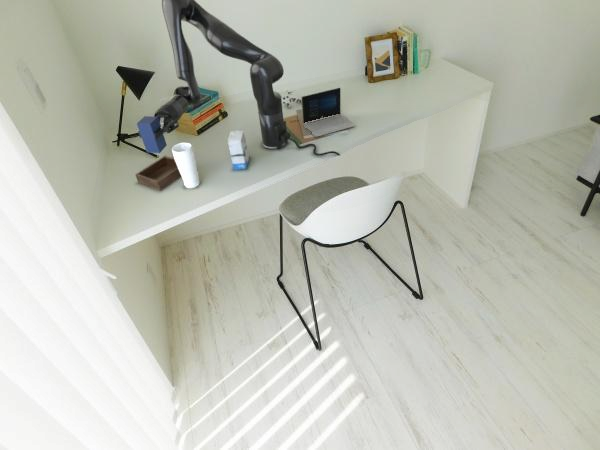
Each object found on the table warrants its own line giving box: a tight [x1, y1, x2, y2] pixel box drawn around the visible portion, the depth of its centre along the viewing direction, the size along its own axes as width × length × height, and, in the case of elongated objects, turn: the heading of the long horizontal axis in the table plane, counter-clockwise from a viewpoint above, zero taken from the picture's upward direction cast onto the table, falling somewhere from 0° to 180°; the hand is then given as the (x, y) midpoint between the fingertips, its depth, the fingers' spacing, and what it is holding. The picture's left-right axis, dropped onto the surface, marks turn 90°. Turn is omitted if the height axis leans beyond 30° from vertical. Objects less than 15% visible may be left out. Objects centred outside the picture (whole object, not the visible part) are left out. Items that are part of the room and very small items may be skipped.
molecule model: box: [281, 89, 302, 109], centre depth 186 cm, size 6×12×8 cm, turn 128°
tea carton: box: [136, 115, 168, 154], centre depth 137 cm, size 5×6×11 cm
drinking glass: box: [171, 142, 201, 189], centre depth 136 cm, size 7×7×15 cm
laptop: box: [301, 87, 355, 138], centre depth 164 cm, size 18×12×13 cm
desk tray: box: [134, 155, 182, 192], centre depth 145 cm, size 12×15×4 cm
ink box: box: [227, 130, 250, 171], centre depth 146 cm, size 9×5×12 cm, turn 178°
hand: (147, 135), depth 134 cm, fingers closed on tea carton, 5 cm apart
